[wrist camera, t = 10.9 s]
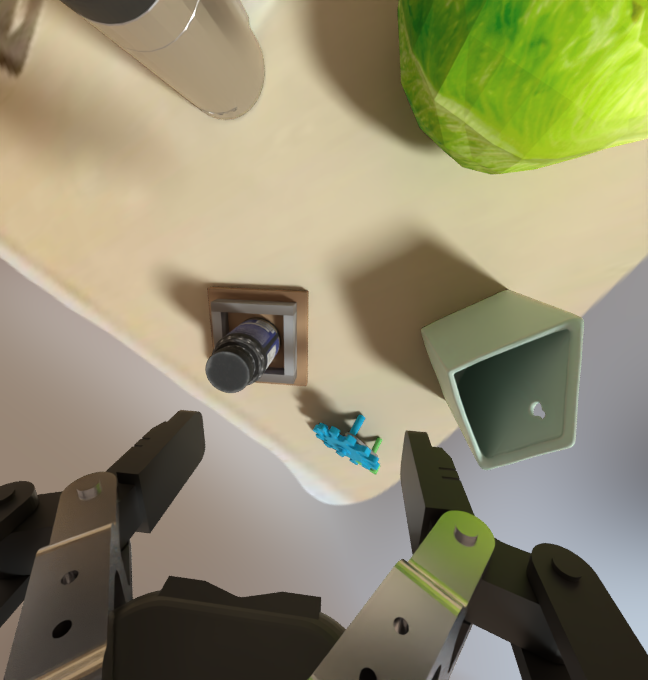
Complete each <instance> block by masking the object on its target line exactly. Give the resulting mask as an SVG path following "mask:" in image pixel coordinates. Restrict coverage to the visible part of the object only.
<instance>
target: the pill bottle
mask: <svg viewBox="0 0 648 680" xmlns="http://www.w3.org/2000/svg"><path fill="white" fill-rule="evenodd" d="M280 346H281V338H280V335H279V332H278V330H277V328H276V327H275V326H274V325H273V324H272V323H271V322H269V321H268V320H265V319H263V318H250V319H247V320H245V321H244V322H242V323H241V324H240V325H239V326H237V327H236V328H235V329H233V330H232V331H231V332H230V333H228V334H227V335H226V336H224V337H223V338H222V339H220V340H219V341H218V342H217V343H216V345H215V347H214V349H213V353H212V356H210V358H209V359H208V361H207V363H206V375H207V378H208V380H209V381H210V383H211V384H212V385H213V386H214V387H215V388H217V389H218V390H220V391H223V392H226V393H236V392H239V391H241V390H243V389H244V388H245V387H246V386H247V385H250V384H252V383H254V382H256V381H257V380H259V379H260V377H261V376H262V375H263V373H264V372H265V370H266V369H267V367H268V366H269V364H270V363H271V362H272V360H273V359H274V357H275V356H276V354H277V353H278V351H279V349H280Z"/></svg>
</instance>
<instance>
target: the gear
mask: <svg viewBox="0 0 648 680" xmlns="http://www.w3.org/2000/svg"><path fill="white" fill-rule="evenodd" d="M364 420H365V417H364V416H362V415H358V417H357V419H356V421H355V423H354V424H353V426H352V428H351V430H350V432H346V434H345V436H342V435H340V432H341V431H340V430H339V429H337V428H336V427H334V426H332V427H331V428H330V430H329V429H328V426H327V425H326V424H323V423H319V425H316V426H315V427H314V429H313V431H314V432H316V433H317V434H316V437H317V438H319V439H321V440H323V441H324V444H325V445H326V446H327V447H329V448H333V449H335V450H337V451H336V453H337V454H339V455H340V456H341V457H344V456H347V457H349V458H350V461H351V462H352V463H354V464H356V465H358V464H360V465H362V466H363V467H364V468H366V469H368V470H370V472H372V473H373V474H377V472H378V469H379V467H380V464H379V463H378V460H379V458H378V456H377V454H376V452H377V450H378V448H379V446H380V444H381V442H382V439H380V438H377V440H376V442H375V444H374V446H373V448H372V450H371V449H370V448H368V447H367V446H366V445H365V444H364V443H363V442H362V441H360V440H359V439H358V438H357V437H356V434H357V433H358V431H359V429H360V427H361V425H362V423H363V421H364Z"/></svg>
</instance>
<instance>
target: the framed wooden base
mask: <svg viewBox="0 0 648 680" xmlns="http://www.w3.org/2000/svg"><path fill="white" fill-rule="evenodd" d="M208 299H209V310H210V321H211V332H212V343H213V349H214V347H215V345H216V343H217V342H218V341H219V340H220V339H222V338H223V337H224V336H226V335H227V334H228V333H230V332H231V331H232V330H233V329H235V328H236V327H237V326H239V325H240V324H241V323H242V322H244V321H245V320H247V319H250V318H263V319H265V320H268V321H269V322H271V323H272V324H273V325H274V326H275V327H276V328H277V330H278V332H279V335H280V338H281V346H280V349H279V351H278V353H277V354H276V356H275V357H274V359H273V360H272V362H271V363H270V364H269V366H268V367H267V369H266V370H265V372H264V373H263V375H262V376H261V377H260V379H259V380H257V381H256V383H269V384H283V385H297V386H306V385H307V381H308V291H296V290H273V289H250V288H228V287H210V288H208Z"/></svg>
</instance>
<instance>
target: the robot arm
mask: <svg viewBox="0 0 648 680" xmlns="http://www.w3.org/2000/svg"><path fill="white" fill-rule="evenodd" d="M61 1H62V2H63V3H64V4H66V5H67V6H68V7H70V8H71V9H72V10H74V11H75V12H76V13H78V14H79V15H80V16H81V17H83V18H84V19H85V20H86V21H88V22H89V23H90V24H92V25H93V26H94V27H95V28H97V29H98V30H99V31H101V32H102V33H103V34H104V35H106V36H107V37H108V38H109V39H111V40H112V41H113V42H115V43H116V44H117V45H119V46H120V47H121V48H122V49H124V50H125V51H126V52H128V53H129V54H130V55H131V56H133V57H134V58H135V59H137V60H138V61H139V62H140V63H142V64H143V65H144V66H145V67H147V68H148V69H149V70H151V71H152V72H153V73H154V74H156V75H157V76H158V77H160V78H161V79H162V80H163V81H165V82H166V83H167V84H168V85H170V86H171V87H172V88H174V89H175V90H176V91H177V92H179V93H180V94H181V95H183V96H184V97H185V98H186V99H188V100H189V101H190V102H191V103H193V104H194V105H195V106H197V107H198V108H199V109H200V110H202V111H203V112H205V113H206V114H208V115H209V116H211V117H214V118H217V119H223V120H229V119H235V118H237V117H240V116H242V115H244V114H245V113H246V112H248V111H249V110H250V109H251V108H252V106H253V105H254V104H255V103H256V101H257V99H258V97H259V95H260V93H261V90H262V87H263V82H264V75H265V72H264V60H263V55H262V51H261V48H260V46H259V43H258V41H257V39H256V37H255V35H254V34H253V32H252V30H251V28H250V26H249V17H248V15H247V13H246V11H245V9H244V7H243V5H242V3H241V1H240V0H61ZM204 452H205V439H204V429H203V419H202V415H201V413H200V412H197V411H186V410H180V411H178V412H177V413H176V414H175V415H174V416H173V417H172V418H171V419H170V420H169V421H168V422H163V423H161V424H159V425H158V426H156V427H154V428H152V429H151V430H150V431H149V432H148V433H147V434H146V435H144V436H143V437H142V439H140V440H139V441H138V442H137V443H136V444H135V446H134V447H131V449H129V450H128V451H127V452H126V453H125V454H124V455H123V456H122V457H121V458H120V459H119V460H118V461H116V462H115V463H114V464H113V465H112V466H111V467H110V468H109V469H108V470H107V471H106V472H96V473H92V474H88V475H86V476H83V477H81V478H79V479H77V480H76V481H74V482H72V483H71V484H70V485H69V486H67V487H66V488H65V490H64V491H62V492H55V493H47V494H40V495H37V493H36V490H35V487H34V485H33V484H32V483H30V482H27V481H19V482H13V483H9V484H5V485H3V486H0V627H1V626H2V625H3V624H4V623H5V622H6V620H7V619H8V618H9V617H10V616H11V614H12V613H13V612H14V611H15V610H16V609H17V607H18V606H19V605H20V604H21V603H22V602H23V601H24V603H23V607H22V611H21V614H20V618H19V622H18V626H17V630H16V633H15V638H14V641H13V645H12V649H11V653H10V657H9V661H8V664H7V668H6V672H5V676H4V680H449V677H450V675H451V673H452V671H453V668H454V666H455V664H456V662H457V659H458V657H459V655H460V652H461V650H462V648H463V646H464V643H465V641H466V639H467V636H468V634H469V632H470V630H471V627H472V625H473V624H474V625H476V626H478V627H480V628H482V629H484V630H486V631H488V632H490V633H493V634H494V635H496V636H499V637H500V638H502V639H505V640H506V641H509V642H510V643H511V646H512V649H513V652H514V655H515V658H516V661H517V665H518V668H519V671H520V674H521V677H522V680H648V655H647V653H646V651H645V650H644V648H643V647H642V645H641V644H640V642H639V640H638V639H637V637H636V636H635V634H634V633H633V631H632V629H631V628H630V626H629V624H628V623H627V621H626V620H625V618H624V617H623V615H622V613H621V612H620V610H619V609H618V607H617V606H616V604H615V602H614V601H613V599H612V598H611V596H610V594H609V593H608V591H607V590H606V588H605V587H604V585H603V584H602V582H601V580H600V579H599V577H598V576H597V574H596V573H595V572H594V570H593V569H592V568H591V567H590V566H589V565H588V564H587V563H586V562H585V561H584V560H583V559H582V558H580V557H579V556H578V555H576V554H574V553H573V552H571V551H569V550H568V549H565V548H563V547H561V546H558V545H554V544H548V543H542V544H539V545H536V546H535V547H534V548H533V550H532V553H528V552H526V551H523V550H520V549H518V548H515V547H512V546H510V545H507V544H505V543H503V542H500V541H499V540H497V539H496V538H494V536H493V534H492V532H491V530H490V529H489V528H488V527H487V525H486V524H485V523H484V522H482V521H481V520H480V519H478V518H477V517H475V515H474V513H473V511H472V508H471V506H470V503H469V501H468V498H467V496H466V493H465V491H464V488H463V486H462V483H461V481H460V480H459V476H458V473H457V471H456V468H455V466H454V464H453V461H452V458H451V457H450V456H449V455H448V454H447V453H446V452H445V451H444V450H443V449H442V448H439V447H432V446H431V443H430V440H429V437H428V434H427V433H426V432H417V431H406V432H405V437H404V444H403V452H402V460H401V471H400V475H401V486H402V492H403V498H404V504H405V510H406V517H407V523H408V529H409V535H410V541H411V548H412V554H413V556H412V557H411V559H410V560H409V561H408V562H407V561H405V560H404V559H401V560H400V561H398V563H397V564H396V565H395V566H394V567H393V569H392V570H391V571H390V572H389V574H388V575H387V576H386V578H385V579H384V580H383V582H382V583H381V584H380V586H379V587H378V588H377V590H376V591H375V592H374V594H373V595H372V596H371V598H370V599H369V600H368V601H367V603H366V604H365V605H364V607H363V608H362V609H361V611H360V612H359V613H358V615H357V616H356V617H355V619H354V620H353V621H352V623H351V624H350V625H349V627H348V628H347V629H345V628H344V627H342V626H341V625H340V624H339V623H338V622H337V621H335V620H334V619H332V618H331V617H329V616H327V615H325V614H323V613H321V597H316V596H308V595H302V594H295V593H287V592H278V593H270V594H264V595H256V596H249V597H237V596H235V595H233V594H231V593H229V592H227V591H225V590H223V589H220V588H218V587H217V586H214V585H212V584H210V583H208V582H206V581H202V580H195V579H188V578H181V577H174V576H169V577H168V579H167V581H166V582H165V584H164V586H163V588H162V589H161V590H160V591H155V592H151V593H148V594H145V595H143V596H140V597H137V598H135V599H133V589H132V555H131V542H130V538H131V537H132V535H133V534H134V533H135V532H144V533H151V531H152V530H153V528H154V527H155V526H156V524H157V523H158V521H159V520H160V518H161V517H162V515H163V514H164V513H165V511H166V510H167V508H168V507H169V505H170V504H171V503H172V501H173V500H174V498H175V497H176V496H177V494H178V493H179V491H180V490H181V489H182V487H183V486H184V484H185V483H186V482H187V480H188V479H189V477H190V476H191V474H192V473H193V472H194V470H195V469H196V467H197V466H198V464H199V463H200V462H201V460H202V458H203V455H204Z"/></svg>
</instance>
